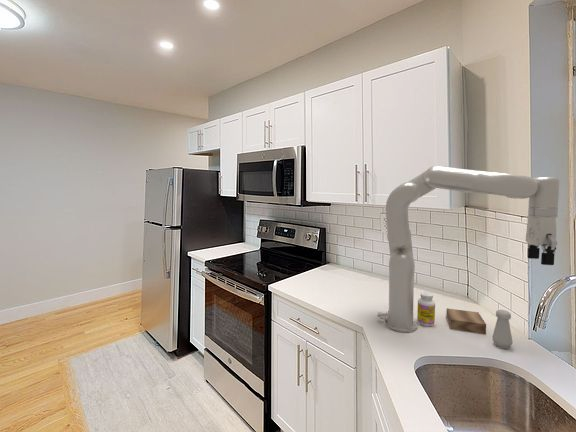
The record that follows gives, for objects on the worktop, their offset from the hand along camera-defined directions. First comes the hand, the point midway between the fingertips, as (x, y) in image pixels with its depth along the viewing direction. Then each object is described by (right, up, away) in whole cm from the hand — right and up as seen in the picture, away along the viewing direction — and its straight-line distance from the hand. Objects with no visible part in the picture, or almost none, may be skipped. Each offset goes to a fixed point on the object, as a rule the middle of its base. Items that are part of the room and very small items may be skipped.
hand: (540, 261), depth 97 cm
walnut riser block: (-14, -30, +19) cm, 38 cm away
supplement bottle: (-30, -30, +21) cm, 47 cm away
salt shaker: (-11, -31, +3) cm, 33 cm away
